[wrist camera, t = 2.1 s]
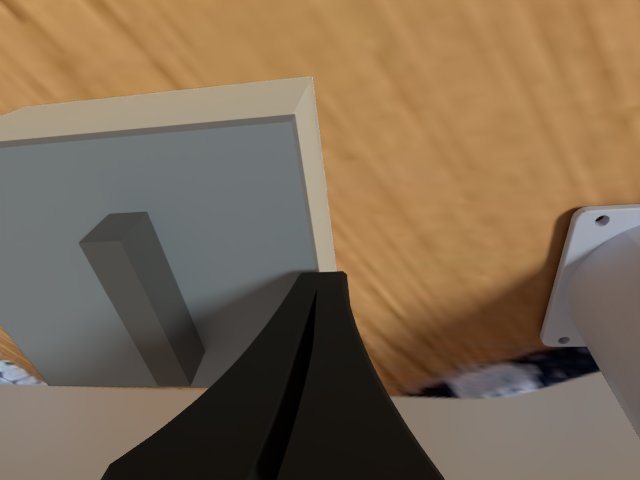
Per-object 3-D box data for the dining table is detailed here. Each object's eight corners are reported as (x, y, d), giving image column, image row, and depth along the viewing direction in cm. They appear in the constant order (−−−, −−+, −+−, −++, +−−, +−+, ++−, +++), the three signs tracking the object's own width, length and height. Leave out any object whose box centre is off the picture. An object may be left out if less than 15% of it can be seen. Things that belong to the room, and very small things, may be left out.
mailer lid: (294, 114, 10) (279, 144, 8) (335, 376, 16) (331, 426, 14) (-111, 151, 12) (-193, 183, 10) (58, 373, 18) (23, 418, 16)
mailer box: (312, 75, 14) (290, 118, 10) (338, 284, 20) (330, 366, 16) (24, 106, 16) (-92, 153, 12) (121, 290, 22) (63, 365, 18)
